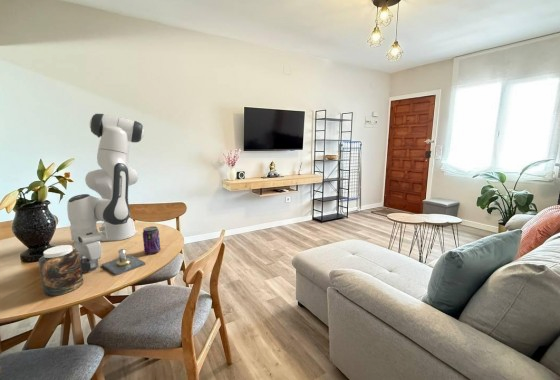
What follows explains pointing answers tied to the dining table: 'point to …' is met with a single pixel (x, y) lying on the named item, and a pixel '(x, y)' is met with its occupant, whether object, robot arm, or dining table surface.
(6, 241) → the dining table surface
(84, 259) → the octagonal nut
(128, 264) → the post stand
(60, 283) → the jar
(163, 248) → the dining table surface
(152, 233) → the beverage can
